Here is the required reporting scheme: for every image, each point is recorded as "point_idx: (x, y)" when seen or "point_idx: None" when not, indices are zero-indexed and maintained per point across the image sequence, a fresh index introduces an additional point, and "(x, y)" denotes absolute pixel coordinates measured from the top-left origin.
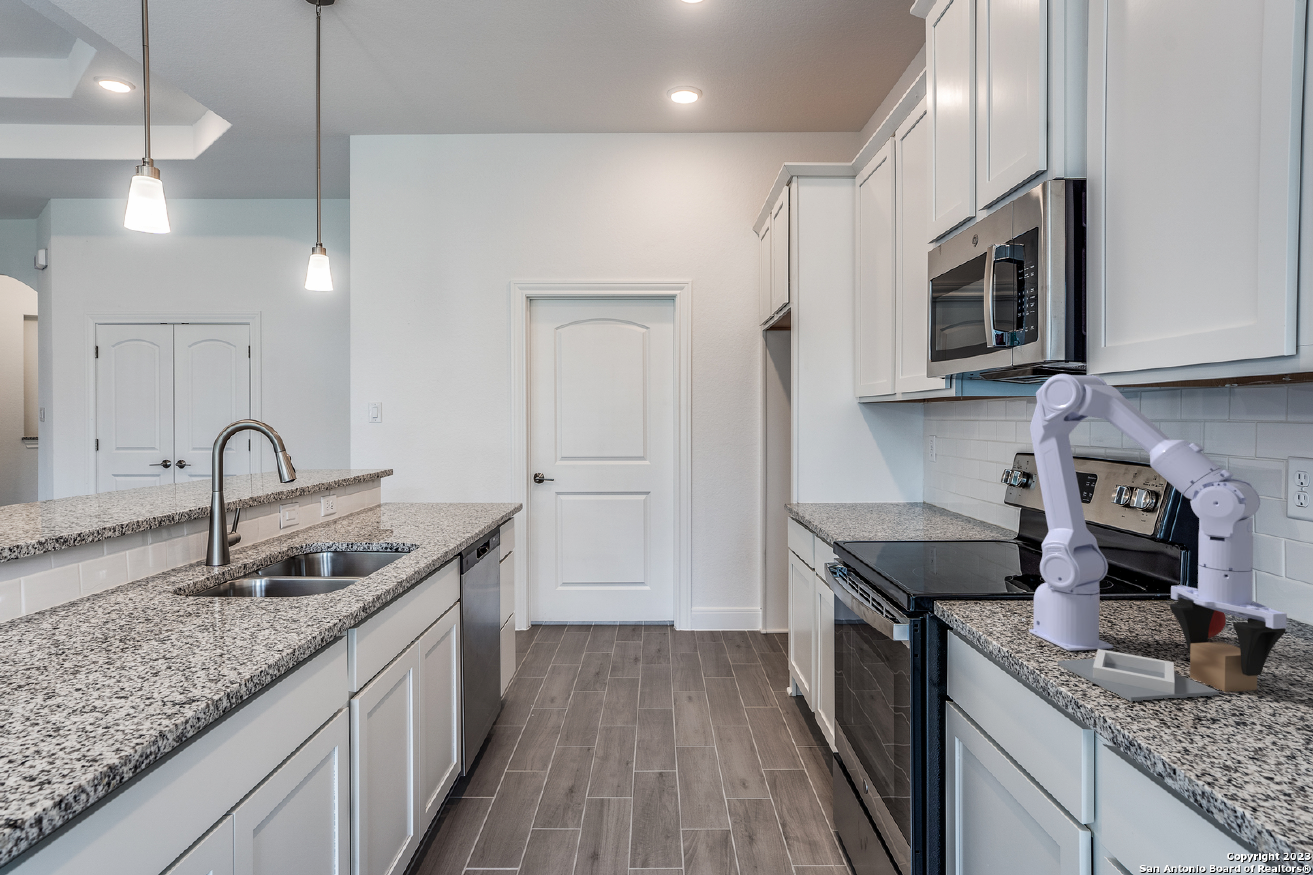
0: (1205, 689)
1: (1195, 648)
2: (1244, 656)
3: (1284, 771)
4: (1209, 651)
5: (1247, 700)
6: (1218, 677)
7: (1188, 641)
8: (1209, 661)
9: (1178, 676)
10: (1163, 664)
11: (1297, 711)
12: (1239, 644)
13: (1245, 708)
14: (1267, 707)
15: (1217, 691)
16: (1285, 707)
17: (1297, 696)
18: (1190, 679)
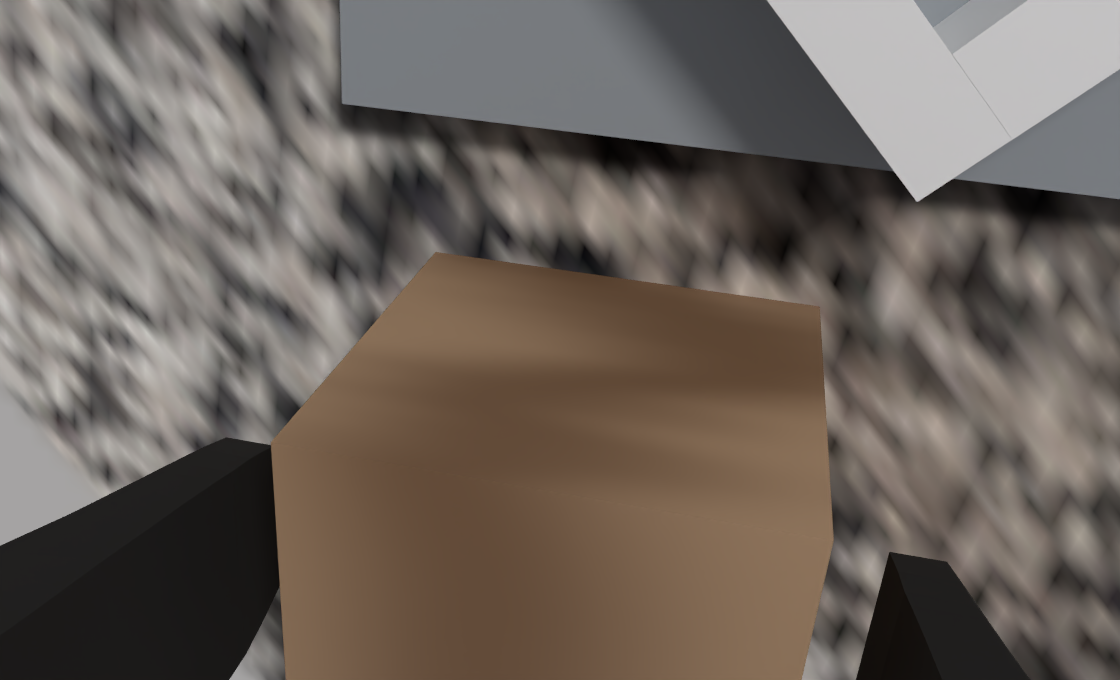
0: (404, 9)
1: (743, 492)
2: (78, 529)
3: None
4: (513, 475)
5: (244, 249)
6: (467, 314)
7: (962, 648)
8: (542, 399)
9: (787, 92)
10: (962, 39)
11: (35, 392)
12: (17, 624)
13: (86, 38)
14: (104, 255)
15: (345, 90)
16: (103, 389)
17: (279, 671)
18: (671, 137)
